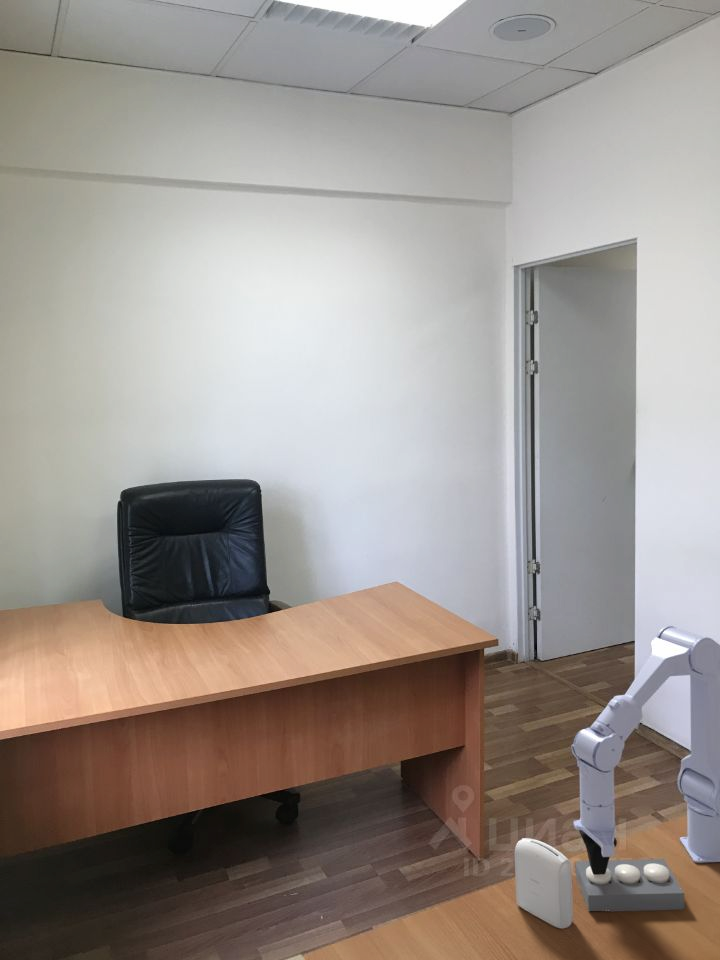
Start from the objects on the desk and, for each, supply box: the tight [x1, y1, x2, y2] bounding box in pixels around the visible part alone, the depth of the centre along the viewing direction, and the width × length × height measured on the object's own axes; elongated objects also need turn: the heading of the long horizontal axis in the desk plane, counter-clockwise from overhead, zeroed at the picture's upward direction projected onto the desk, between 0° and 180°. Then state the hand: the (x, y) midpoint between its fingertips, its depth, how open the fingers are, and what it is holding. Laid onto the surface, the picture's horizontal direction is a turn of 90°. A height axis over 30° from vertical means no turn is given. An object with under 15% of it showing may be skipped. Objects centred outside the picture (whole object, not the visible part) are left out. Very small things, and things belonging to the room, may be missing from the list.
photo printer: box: [514, 837, 574, 930], centre depth 138 cm, size 10×4×12 cm, turn 39°
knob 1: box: [586, 866, 611, 885], centre depth 143 cm, size 4×4×4 cm
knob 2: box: [644, 863, 669, 883], centre depth 142 cm, size 4×4×4 cm
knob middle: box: [615, 864, 640, 884], centre depth 143 cm, size 4×4×4 cm
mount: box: [574, 858, 685, 912], centre depth 143 cm, size 16×10×3 cm, turn 88°
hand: (598, 872), depth 143 cm, fingers closed, pressing on knob 1
